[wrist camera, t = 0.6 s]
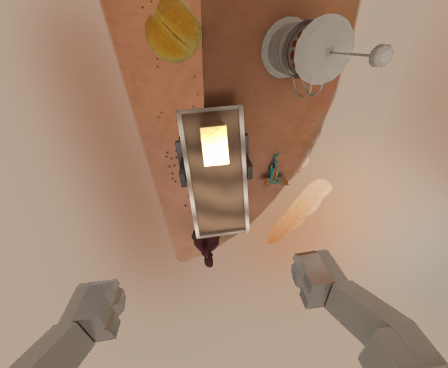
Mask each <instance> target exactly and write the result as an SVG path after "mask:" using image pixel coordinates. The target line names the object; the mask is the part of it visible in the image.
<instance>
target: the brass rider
mask: <svg viewBox="0 0 448 368" xmlns="http://www.w3.org/2000/svg"><path fill="white" fill-rule="evenodd" d="M200 134H201V142H202V150H203V158H204V166H205V167H206V166H214V165H223V164H229V152H228V139H227V127H226V125H225V124H224V123H223V122H212V123H202V124H200Z"/></svg>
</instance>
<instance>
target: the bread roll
mask: <svg viewBox="0 0 448 368" xmlns="http://www.w3.org/2000/svg"><path fill="white" fill-rule="evenodd" d="M145 33H146V38H147V41H148V44H149V46H150V48H151V49H152V51H153V52H154V53H155V55H157V56H158V57H159V58H160V59H162V60H164V61H166V62H170V63H180V62H184V61H186V60H188V59H189V58H191V57H192V56H193V54H194V53H195V51H196V50H197V48H198V46H199V44H200V42H201V38H202V29H201V25H200V22H199V20H198V19H197V18H196V16H195V15H194V13H193V12H192V11H191V10H190V8H189V7H188V6H187V4H186V3H185V1H184V0H161V1H160V2H159V4H158V5H157V8H156V12H155V14H154V15H151V16H149V17H148V19H147V20H146V23H145Z"/></svg>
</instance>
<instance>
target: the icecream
mask: <svg viewBox="0 0 448 368" xmlns="http://www.w3.org/2000/svg"><path fill="white" fill-rule="evenodd" d="M192 238H193V240H194V244H195V246H196V247H197V248H198V249H199V250H200V251H201V253H202V255H203V256H204V257H205V259H204V261H205V264H206V266H207V267H212V266H213V259H212V256H213V255H212V253H211V251H213V250H214V249H215V248H216V247H217V246H218V245H219V238H220V236H215V237H207V238H200V239H196V234H195V230H194V232H193V235H192Z"/></svg>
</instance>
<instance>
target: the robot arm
mask: <svg viewBox="0 0 448 368" xmlns="http://www.w3.org/2000/svg"><path fill="white" fill-rule="evenodd" d="M293 260H294V262H295V263H294V264H292V269H291V270H292V277H293V280H294V283H295V285H296V286H297V287H298V288H300V289H301V291H300V297H301V299H302V301H303V304H304V306H305V308H306V309H311V308H319V307H324V308H325V309H326V310H327V311H328V312H329V313H330V314H331V315H332V316H333V317H335V318H336V319H337V320H338V321H339V322H340V323H341V324H342V325H343V326H344V327H345V328H346V329H347V330H348V331H350V332H351V333H352V334H353V335H354V336H355V337H356V338H357V339H358V340H359V341H360V342H361V343H362V344H364V345H365V347H364V348H363V350H362V351H361V353H360V354H359V357H358V360H359V361H360V364H361V366H362V367H363V368H448V363H447V362H446V361H445V360H444V358H443V357H442V356H441V355H440V353H439V352H438V351H437V350H436V348H435V347H434V346H433V345H432V343H431V342H430V341H429V340H428V338H427V337H426V336H425V335H424V333H423V332H422V331H421V330H420V328H419V327H418V326H417V325H416V323H415V322H414V321H413V320H411V319H410V318H408V317H406V316H405V315H403V314H402V313H400V312H399V311H397V310H396V309H394V308H393V307H391V306H390V305H388V304H387V303H385V302H384V301H382V300H380V299H379V298H378V297H376V296H375V295H373V294H371V293H370V292H368V291H367V290H365V289H364V288H362V287H361V286H359V285H358V284H356V283H355V282H353V281H348V279H347V278H346V277H345V275H344V273H343V272H342V270H341V269H340V267H339V266H338V264H337V263H336V262H335V260H334V259H333V257H332V256H331V254H330V253H329V251H328V250H319V251H310V252H305V253H298V254H295V255H294V256H293ZM125 299H126V297H125V292H124V290H123V289H122V288H120V287H119V281H118V280H117V279H113V280H106V281H98V282H88V283H82V284H79V285H78V286H77V287H76V289H75V291H74V293H73V295H72V297H71V299H70V301H69V303H68V305H67V307H66V309H65V311H64V313H63V315H62V317H61V319H60V321H59V323H58V324H56V325H53V326H52V327H51V328H50V329H49V330H48V331H47V332H46V333H45V334H44V335H43V336H42V337H41V338H40V339H39V340H38V341H37V342H35V343H34V344H33V345H32V346H31V347H30V348H29V349H28V350H27V351H26V352H25V353H24V354H23V355H22V356H21V357H20V358H18V359H17V360H16V361H15V362H14V363H13V364H12V365H11V366H10V367H9V368H78V366H79V365H80V364H81V362H82V361H83V360H84V358H85V357H86V356H87V354H88V353H89V352H90V350H91V349H92V348H93V346H94V345H95V342H101V341H106V340H112V339H116V336H117V332H118V328H119V325H120V319H119V315H120V314H121V313H122V312H123V310H124V307H125Z"/></svg>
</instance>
